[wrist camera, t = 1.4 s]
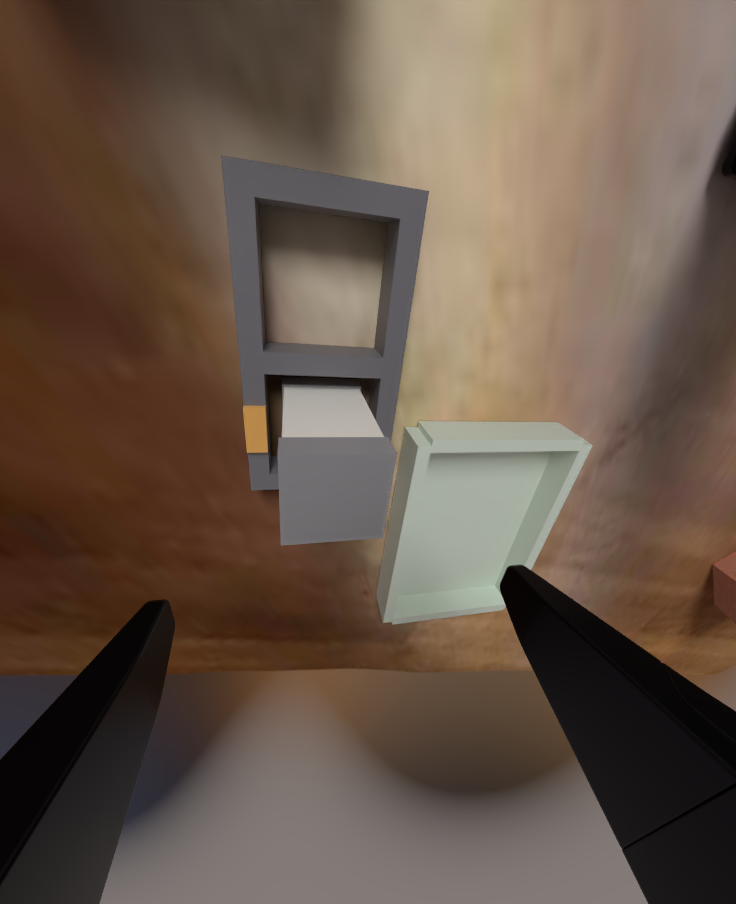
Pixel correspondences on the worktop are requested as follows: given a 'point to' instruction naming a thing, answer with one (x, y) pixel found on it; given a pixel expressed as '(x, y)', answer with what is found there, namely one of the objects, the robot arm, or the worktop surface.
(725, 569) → the house
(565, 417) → the worktop surface
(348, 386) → the block
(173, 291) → the worktop surface
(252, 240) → the socket frame
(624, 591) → the worktop surface
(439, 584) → the parts tray
